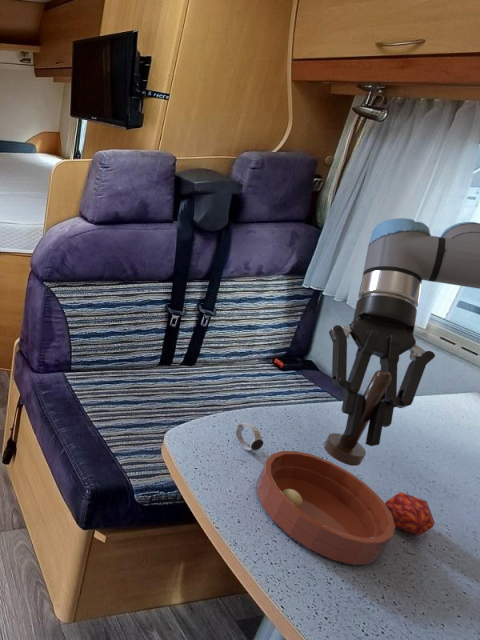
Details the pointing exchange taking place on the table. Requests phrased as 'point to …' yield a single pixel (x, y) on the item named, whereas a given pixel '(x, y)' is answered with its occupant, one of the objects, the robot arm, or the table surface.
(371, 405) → the wooden handled stamp
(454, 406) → the table surface
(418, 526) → the decorative stone
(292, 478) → the bowl
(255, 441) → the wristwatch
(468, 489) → the table surface
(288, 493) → the dough ball
